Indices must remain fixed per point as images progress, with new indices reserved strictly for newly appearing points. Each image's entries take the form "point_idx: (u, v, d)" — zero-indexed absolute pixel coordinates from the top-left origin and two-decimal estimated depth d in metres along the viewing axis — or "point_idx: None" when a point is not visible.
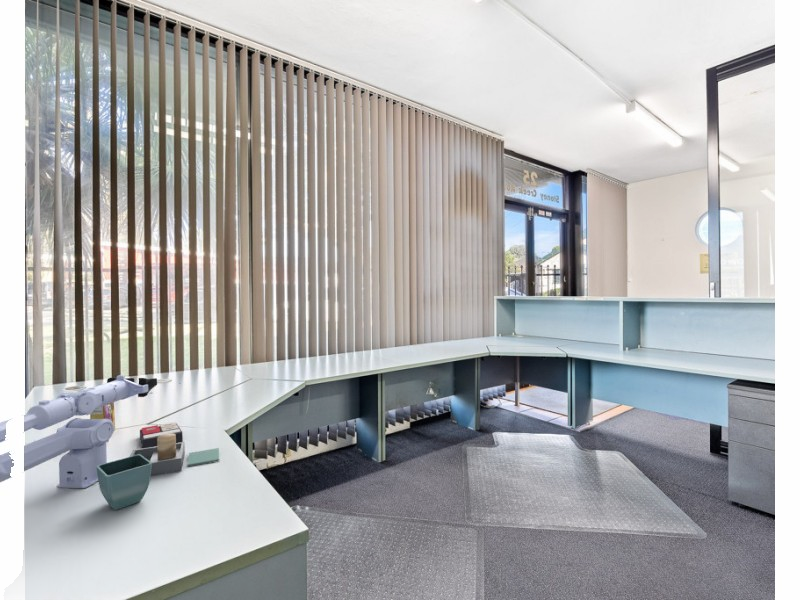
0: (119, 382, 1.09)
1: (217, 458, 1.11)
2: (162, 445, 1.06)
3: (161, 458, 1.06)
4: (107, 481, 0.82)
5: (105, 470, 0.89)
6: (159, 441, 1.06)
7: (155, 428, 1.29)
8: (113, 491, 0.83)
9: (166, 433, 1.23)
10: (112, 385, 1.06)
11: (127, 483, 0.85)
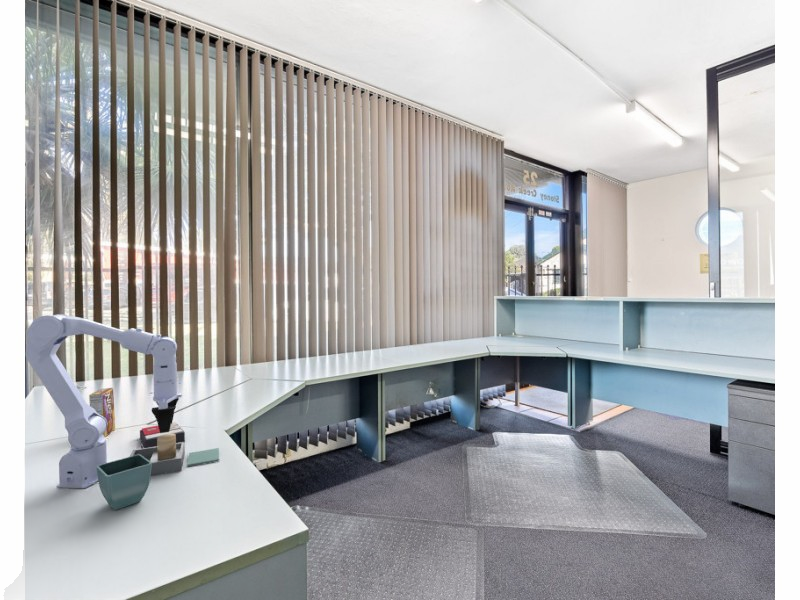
0: (175, 389, 1.08)
1: (217, 458, 1.11)
2: (162, 445, 1.06)
3: (161, 458, 1.06)
4: (107, 481, 0.82)
5: (105, 470, 0.89)
6: (159, 441, 1.06)
7: (156, 428, 1.28)
8: (113, 491, 0.83)
9: (168, 433, 1.23)
10: (174, 380, 1.08)
11: (127, 483, 0.85)
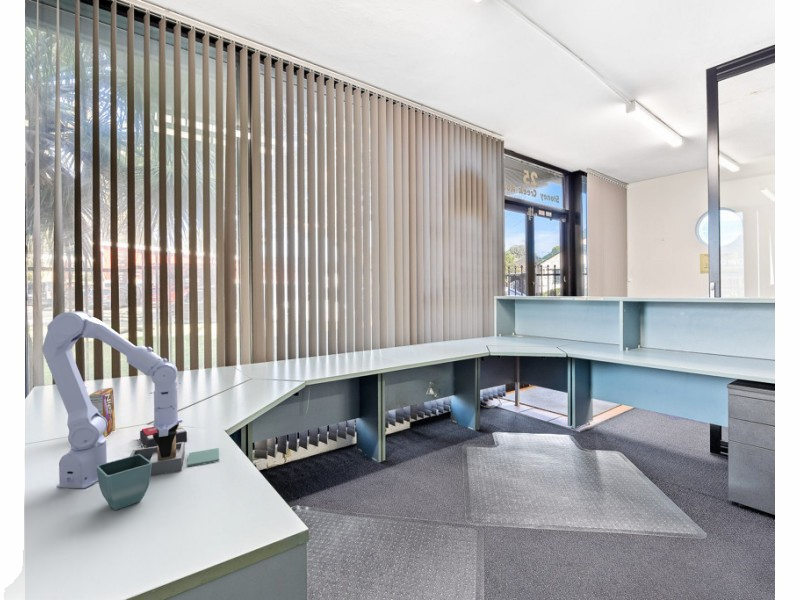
0: (175, 415, 1.08)
1: (217, 458, 1.11)
2: None
3: (161, 458, 1.06)
4: (107, 481, 0.82)
5: (105, 470, 0.89)
6: None
7: None
8: (113, 491, 0.83)
9: None
10: (174, 406, 1.08)
11: (127, 483, 0.85)
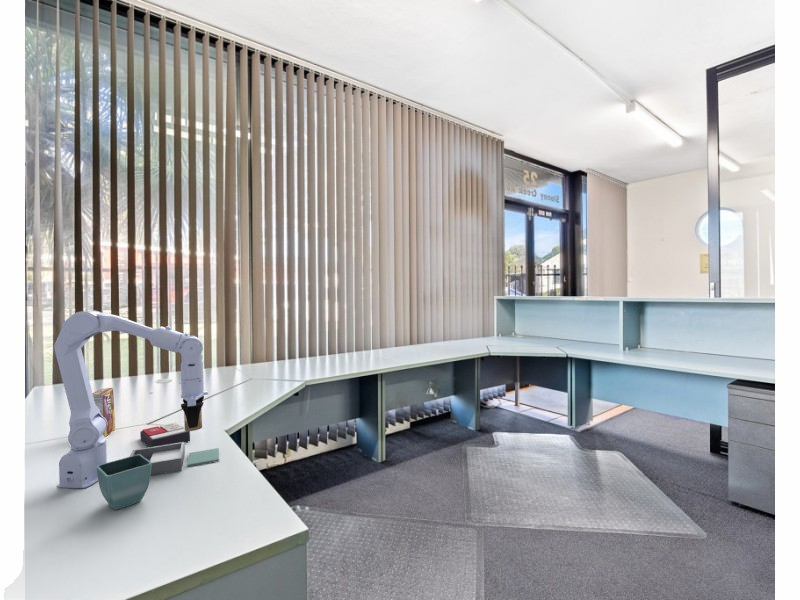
0: (202, 387, 1.11)
1: (217, 458, 1.11)
2: None
3: (188, 428, 1.09)
4: (107, 481, 0.82)
5: (105, 470, 0.89)
6: None
7: (158, 429, 1.28)
8: (113, 491, 0.83)
9: (174, 433, 1.23)
10: (201, 378, 1.10)
11: (127, 483, 0.85)
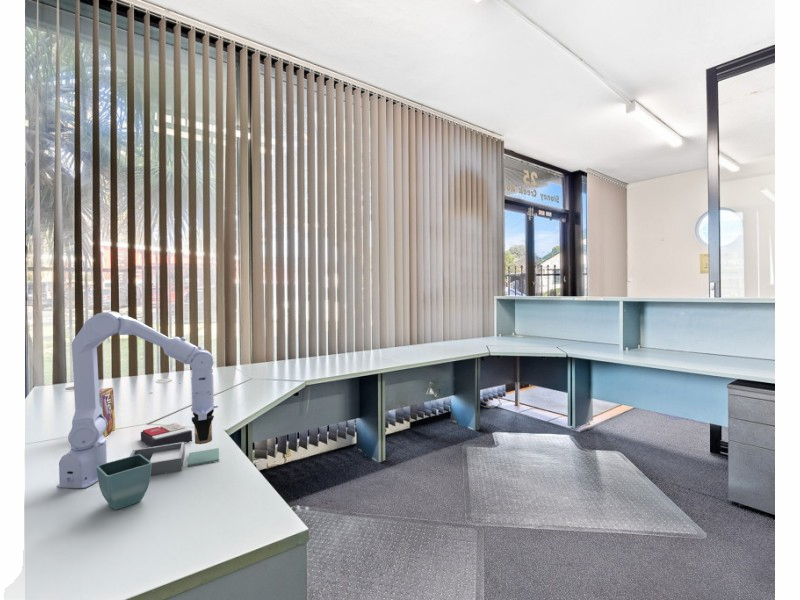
0: (212, 400, 1.12)
1: (217, 458, 1.11)
2: None
3: (199, 441, 1.10)
4: (107, 481, 0.82)
5: (105, 470, 0.89)
6: None
7: (159, 429, 1.28)
8: (113, 491, 0.83)
9: (176, 432, 1.23)
10: (211, 392, 1.12)
11: (127, 483, 0.85)
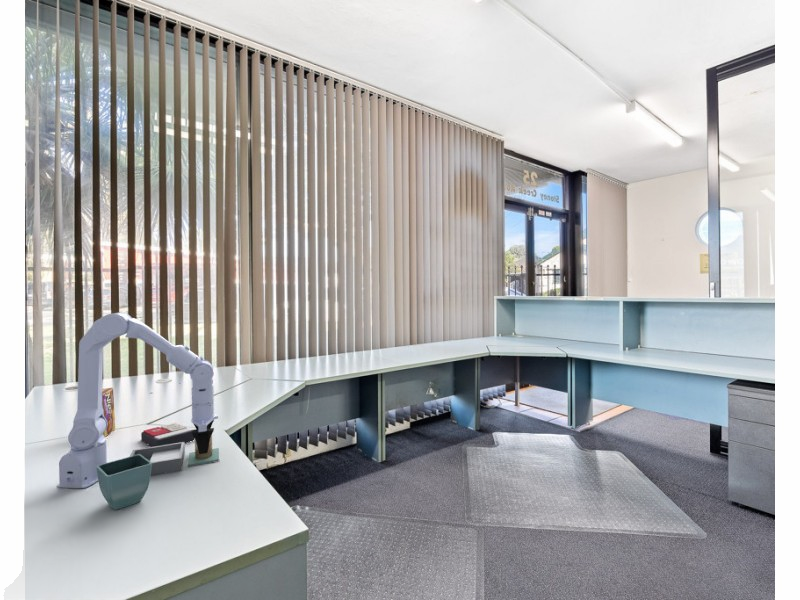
0: (212, 411, 1.12)
1: (217, 458, 1.11)
2: None
3: (199, 456, 1.10)
4: (107, 481, 0.82)
5: (105, 470, 0.89)
6: None
7: (160, 429, 1.27)
8: (113, 491, 0.83)
9: (179, 432, 1.24)
10: (211, 403, 1.12)
11: (127, 483, 0.85)
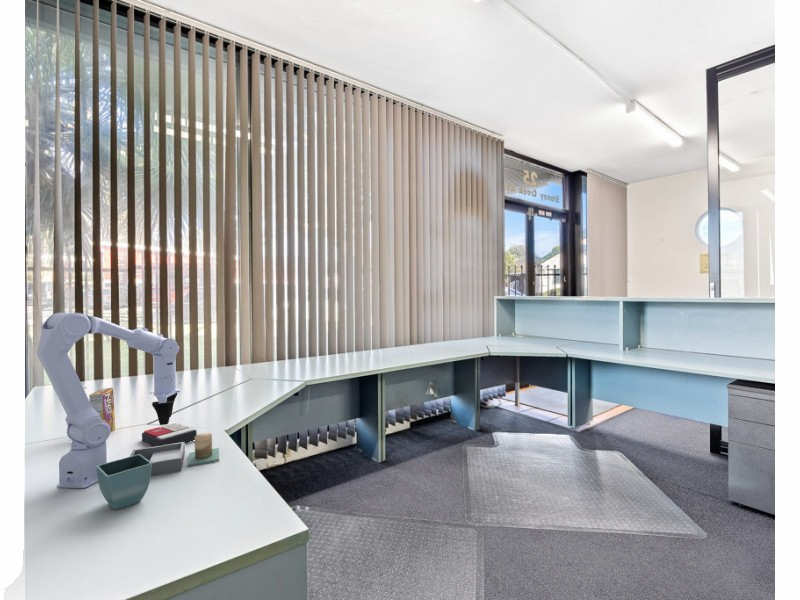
0: (173, 385, 1.17)
1: (217, 458, 1.11)
2: (200, 444, 1.10)
3: (199, 456, 1.10)
4: (107, 481, 0.82)
5: (105, 470, 0.89)
6: (197, 440, 1.10)
7: (161, 429, 1.27)
8: (113, 491, 0.83)
9: (181, 432, 1.24)
10: (173, 377, 1.17)
11: (127, 483, 0.85)
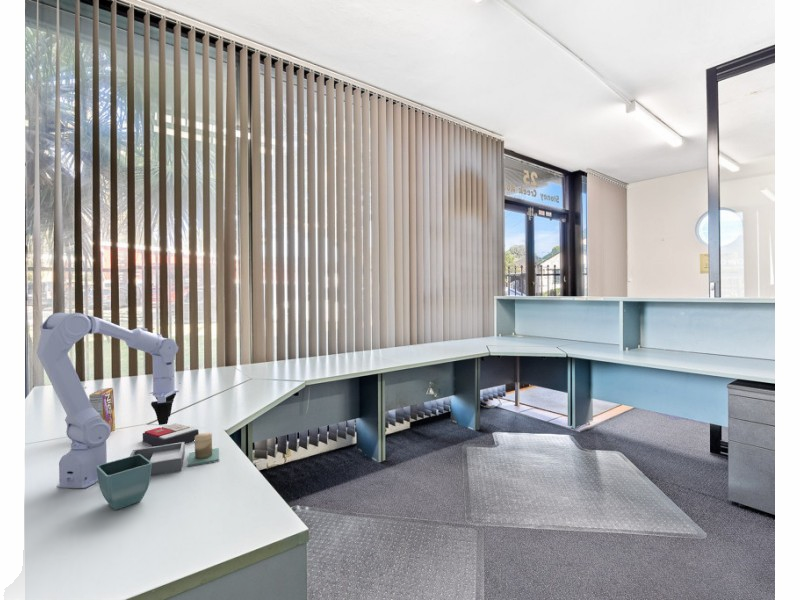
0: (172, 385, 1.18)
1: (217, 458, 1.11)
2: (200, 444, 1.10)
3: (199, 456, 1.10)
4: (107, 481, 0.82)
5: (105, 470, 0.89)
6: (197, 440, 1.10)
7: (162, 429, 1.27)
8: (113, 491, 0.83)
9: (183, 432, 1.24)
10: (171, 377, 1.17)
11: (127, 483, 0.85)
